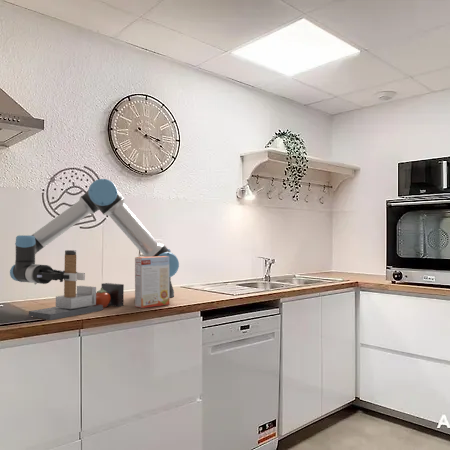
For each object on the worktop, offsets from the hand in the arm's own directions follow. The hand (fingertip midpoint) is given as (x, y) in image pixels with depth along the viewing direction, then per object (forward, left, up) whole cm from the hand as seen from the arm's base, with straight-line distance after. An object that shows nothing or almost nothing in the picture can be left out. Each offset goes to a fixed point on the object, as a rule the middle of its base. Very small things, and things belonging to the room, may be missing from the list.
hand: (80, 277), depth 165 cm
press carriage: (+3, -5, -12) cm, 13 cm away
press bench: (+2, -7, -14) cm, 16 cm away
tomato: (-3, -17, -14) cm, 22 cm away
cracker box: (-24, -21, -14) cm, 35 cm away
